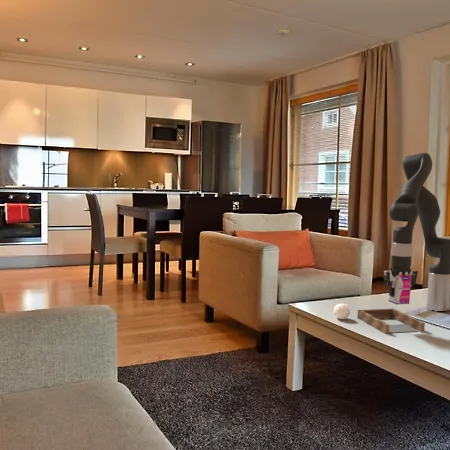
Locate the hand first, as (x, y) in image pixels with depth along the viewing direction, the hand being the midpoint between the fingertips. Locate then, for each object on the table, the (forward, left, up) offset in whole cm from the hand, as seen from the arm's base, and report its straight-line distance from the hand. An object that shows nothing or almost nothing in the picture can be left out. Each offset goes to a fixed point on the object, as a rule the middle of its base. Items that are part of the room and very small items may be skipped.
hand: (399, 296), depth 186 cm
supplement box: (0, 0, -3) cm, 3 cm away
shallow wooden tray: (0, -5, -13) cm, 14 cm away
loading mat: (0, 0, -13) cm, 13 cm away
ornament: (+16, -16, -13) cm, 27 cm away
